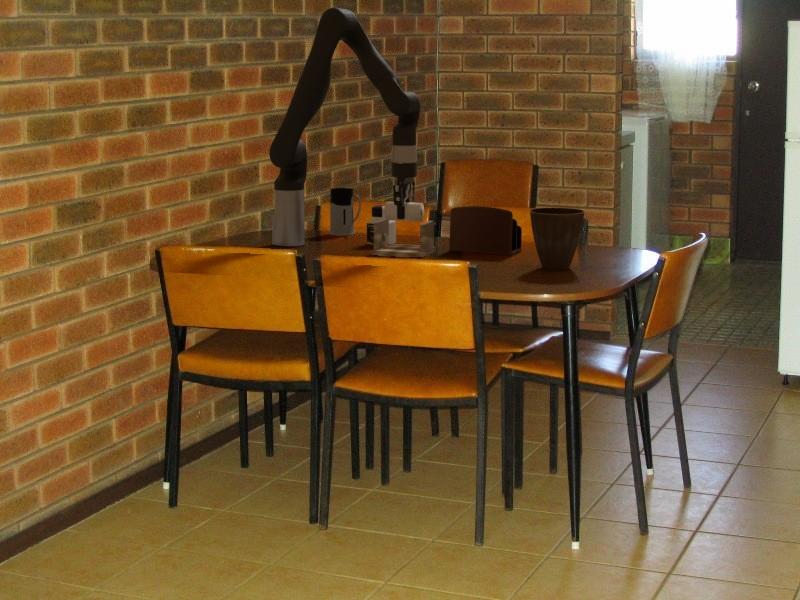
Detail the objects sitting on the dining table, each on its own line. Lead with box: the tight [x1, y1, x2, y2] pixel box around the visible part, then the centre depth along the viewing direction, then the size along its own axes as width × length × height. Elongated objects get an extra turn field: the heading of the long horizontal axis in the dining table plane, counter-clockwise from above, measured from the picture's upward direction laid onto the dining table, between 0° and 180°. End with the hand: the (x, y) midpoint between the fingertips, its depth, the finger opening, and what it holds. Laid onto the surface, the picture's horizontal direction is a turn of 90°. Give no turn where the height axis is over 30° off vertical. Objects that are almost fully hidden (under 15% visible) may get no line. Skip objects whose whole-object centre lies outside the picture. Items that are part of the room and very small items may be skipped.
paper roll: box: [384, 201, 425, 222], centre depth 358 cm, size 11×6×6 cm, turn 72°
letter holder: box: [449, 205, 523, 256], centre depth 365 cm, size 10×20×14 cm, turn 66°
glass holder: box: [328, 187, 362, 237], centre depth 398 cm, size 9×14×15 cm, turn 40°
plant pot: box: [529, 207, 585, 271], centre depth 333 cm, size 15×15×16 cm
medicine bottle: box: [366, 204, 397, 246], centre depth 379 cm, size 7×7×12 cm
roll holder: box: [371, 219, 436, 258], centre depth 359 cm, size 15×14×10 cm
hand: (404, 217), depth 358 cm, fingers closed on paper roll, 5 cm apart
